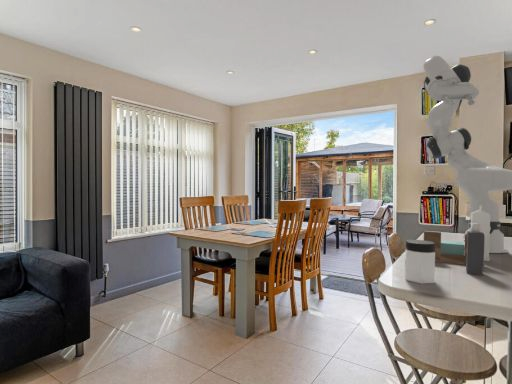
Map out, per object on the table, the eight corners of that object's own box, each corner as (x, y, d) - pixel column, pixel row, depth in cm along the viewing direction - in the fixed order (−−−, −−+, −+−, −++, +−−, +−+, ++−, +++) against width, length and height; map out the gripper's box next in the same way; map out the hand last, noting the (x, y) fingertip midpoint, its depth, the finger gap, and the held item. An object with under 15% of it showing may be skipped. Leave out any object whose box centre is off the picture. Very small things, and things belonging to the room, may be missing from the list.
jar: (403, 274, 106) (404, 238, 106) (431, 277, 103) (432, 240, 103) (405, 282, 98) (406, 242, 98) (435, 285, 95) (437, 245, 95)
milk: (471, 259, 131) (472, 206, 131) (469, 256, 137) (470, 205, 136) (489, 261, 128) (490, 206, 128) (487, 258, 134) (488, 205, 133)
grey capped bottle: (466, 270, 113) (467, 222, 113) (481, 272, 111) (482, 223, 111) (467, 273, 109) (468, 223, 109) (482, 275, 107) (484, 224, 107)
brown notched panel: (423, 258, 131) (424, 230, 131) (482, 265, 121) (483, 235, 121) (423, 259, 129) (423, 231, 129) (483, 266, 119) (484, 235, 119)
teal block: (440, 256, 136) (440, 240, 136) (462, 259, 132) (462, 242, 132) (440, 260, 129) (440, 242, 129) (463, 262, 125) (464, 245, 125)
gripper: (463, 88, 144) (479, 109, 137) (422, 89, 141) (435, 111, 134) (472, 76, 139) (489, 97, 131) (429, 77, 136) (444, 99, 129)
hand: (462, 104), depth 133 cm, fingers open, 8 cm apart
